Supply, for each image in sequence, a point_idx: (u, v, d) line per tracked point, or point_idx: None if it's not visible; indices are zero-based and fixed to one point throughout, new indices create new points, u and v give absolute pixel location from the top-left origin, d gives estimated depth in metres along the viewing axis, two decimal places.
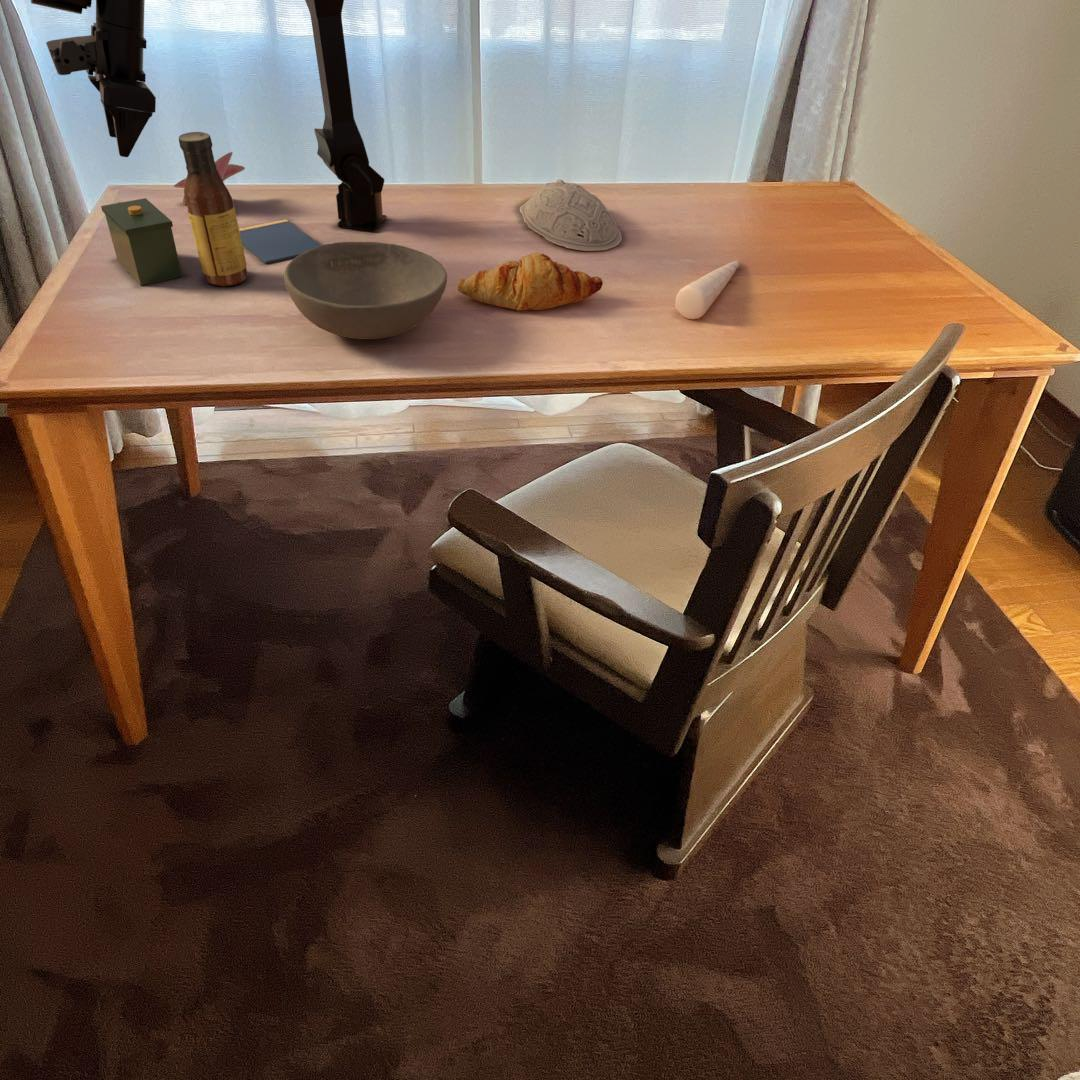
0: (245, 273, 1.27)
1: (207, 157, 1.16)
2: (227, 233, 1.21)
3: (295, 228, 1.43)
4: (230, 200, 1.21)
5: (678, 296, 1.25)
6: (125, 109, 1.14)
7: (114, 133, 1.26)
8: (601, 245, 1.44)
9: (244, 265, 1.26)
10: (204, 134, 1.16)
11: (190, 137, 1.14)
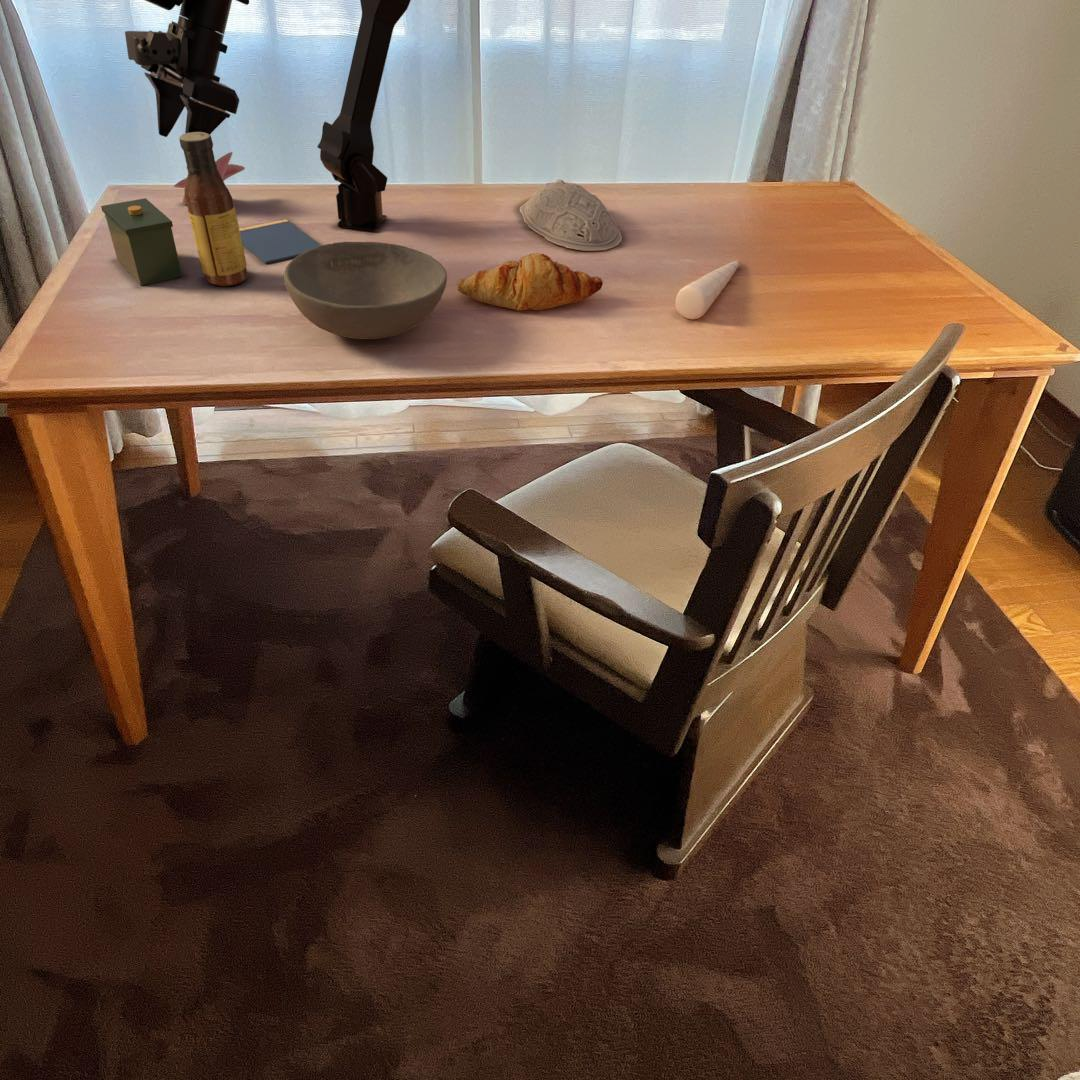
0: (245, 273, 1.27)
1: (208, 157, 1.16)
2: (227, 233, 1.21)
3: (295, 228, 1.43)
4: (230, 200, 1.21)
5: (678, 296, 1.25)
6: (207, 107, 1.14)
7: (164, 132, 1.24)
8: (601, 245, 1.44)
9: (244, 265, 1.26)
10: (205, 134, 1.16)
11: (191, 137, 1.14)
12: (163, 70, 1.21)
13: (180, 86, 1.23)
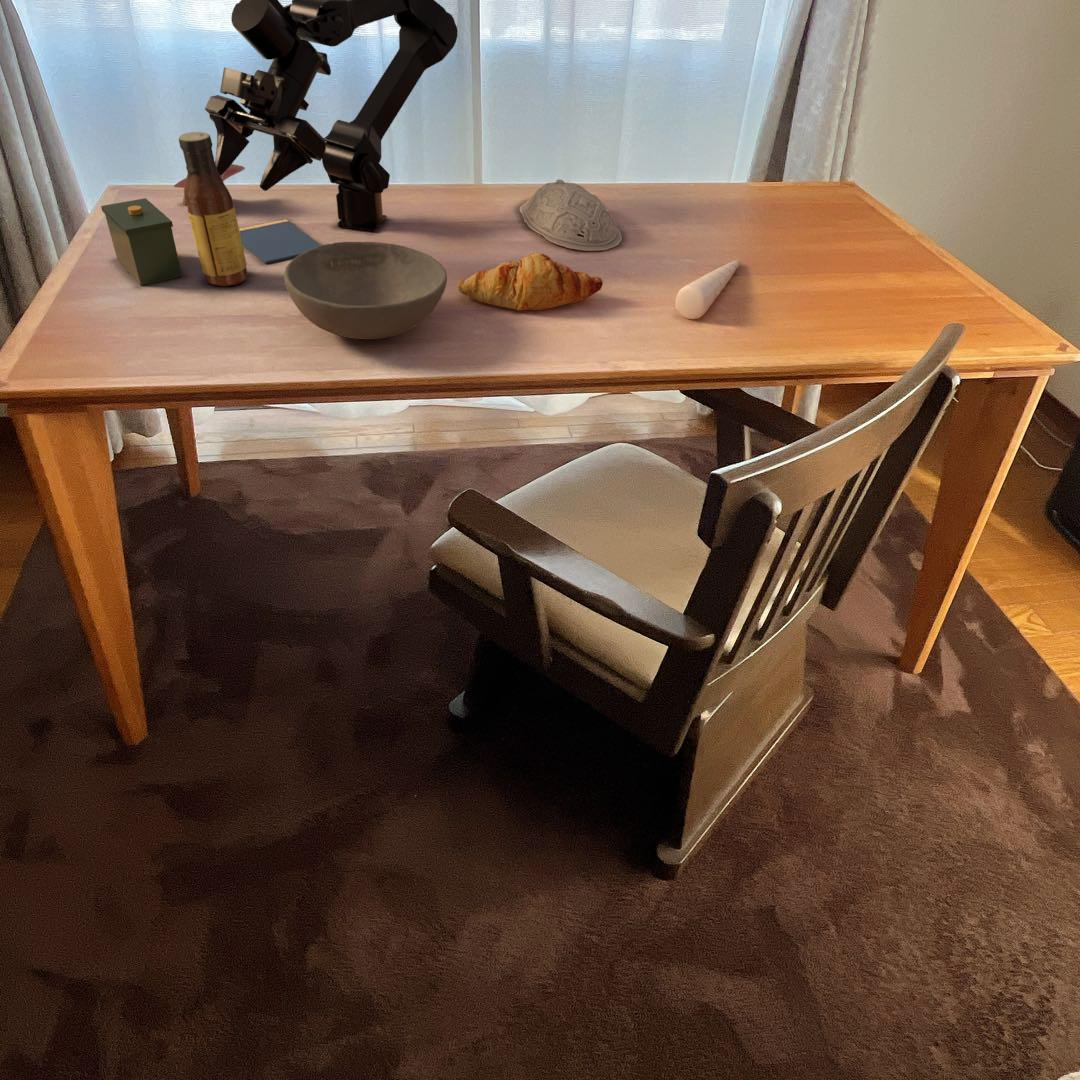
0: (245, 273, 1.27)
1: (207, 157, 1.16)
2: (227, 233, 1.21)
3: (295, 228, 1.43)
4: (230, 200, 1.21)
5: (678, 296, 1.25)
6: (299, 148, 1.20)
7: (220, 170, 1.25)
8: (601, 245, 1.44)
9: (244, 265, 1.26)
10: (204, 134, 1.16)
11: (190, 137, 1.14)
12: (231, 114, 1.24)
13: (240, 133, 1.26)
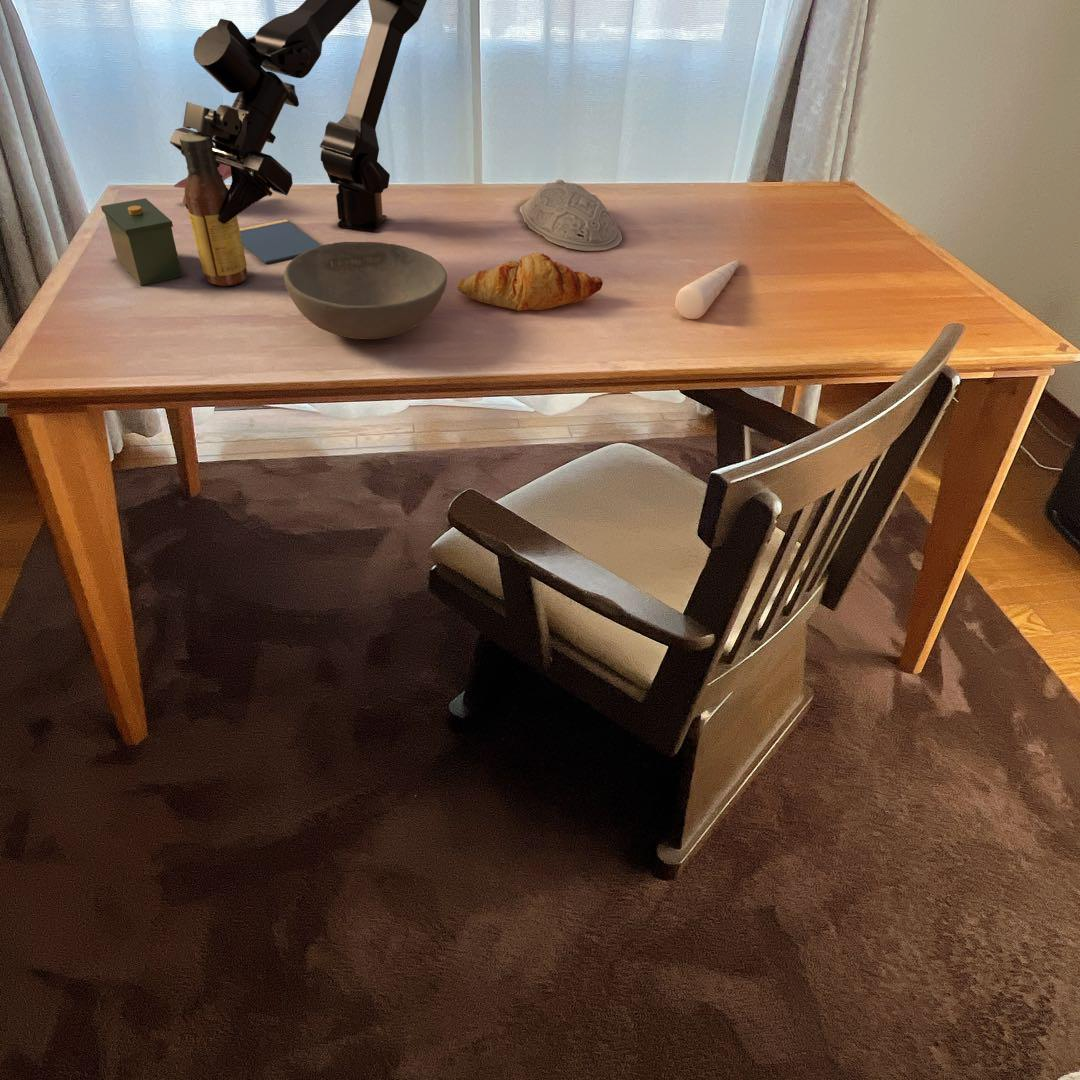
0: (245, 273, 1.27)
1: (208, 158, 1.16)
2: (227, 233, 1.21)
3: (295, 228, 1.43)
4: None
5: (678, 296, 1.25)
6: (258, 181, 1.18)
7: None
8: (601, 245, 1.44)
9: (244, 265, 1.26)
10: (205, 134, 1.15)
11: (191, 137, 1.14)
12: None
13: None
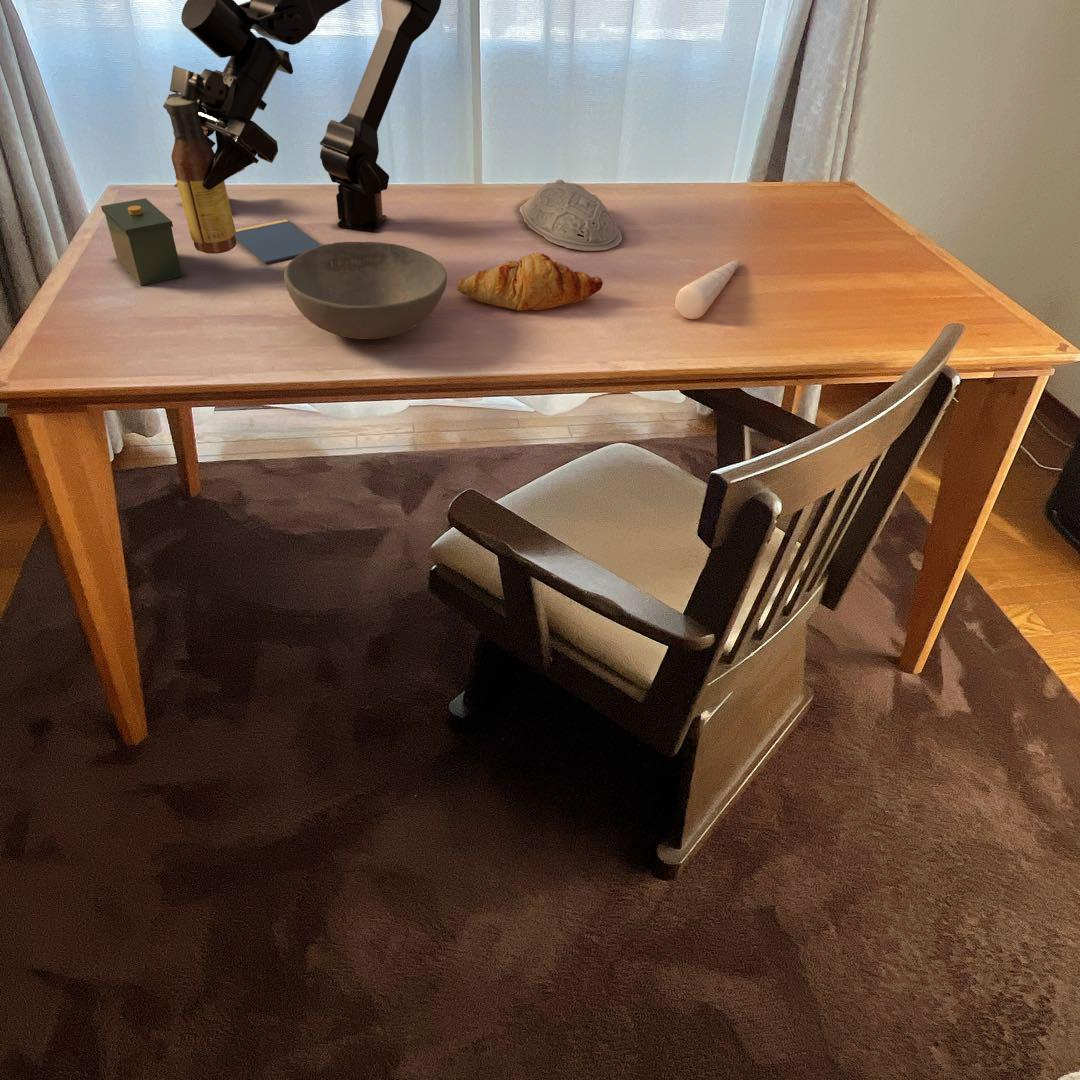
0: (233, 241, 1.26)
1: (193, 122, 1.15)
2: (213, 200, 1.21)
3: (295, 228, 1.43)
4: None
5: (678, 296, 1.25)
6: (242, 147, 1.17)
7: None
8: (601, 245, 1.44)
9: (232, 233, 1.26)
10: (191, 99, 1.15)
11: (176, 101, 1.14)
12: None
13: (205, 135, 1.23)
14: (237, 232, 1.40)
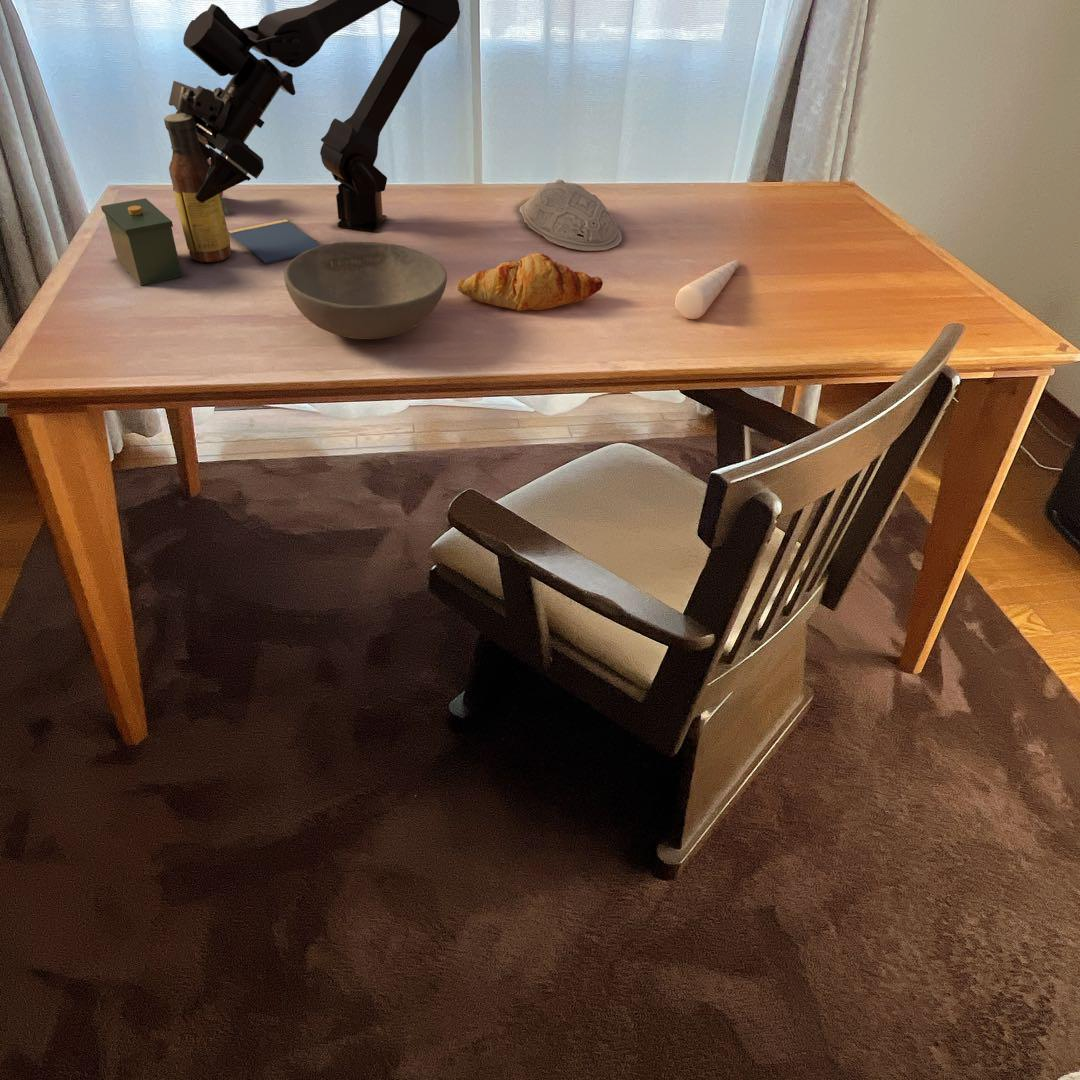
0: (225, 252, 1.32)
1: (188, 138, 1.21)
2: (204, 212, 1.27)
3: (295, 228, 1.43)
4: None
5: (678, 296, 1.25)
6: (232, 164, 1.21)
7: None
8: (601, 245, 1.44)
9: (224, 245, 1.31)
10: (189, 116, 1.21)
11: (174, 117, 1.20)
12: None
13: (205, 144, 1.30)
14: (237, 232, 1.40)
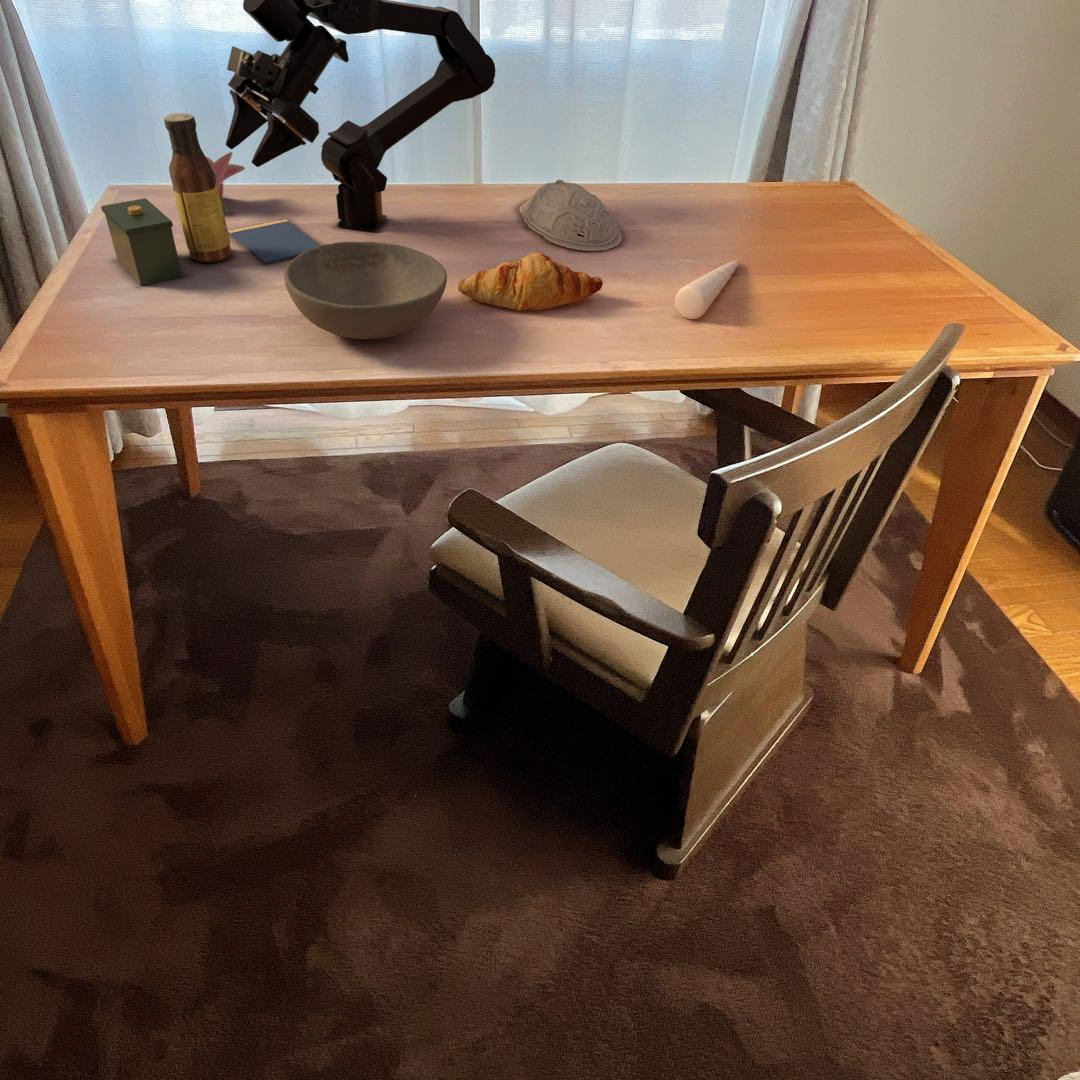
0: (225, 252, 1.32)
1: (188, 138, 1.21)
2: (204, 212, 1.27)
3: (295, 228, 1.43)
4: (211, 181, 1.26)
5: (678, 296, 1.25)
6: (289, 128, 1.23)
7: (231, 144, 1.31)
8: (601, 245, 1.44)
9: (224, 245, 1.31)
10: (189, 116, 1.21)
11: (174, 117, 1.20)
12: (249, 92, 1.30)
13: (258, 111, 1.32)
14: (237, 232, 1.40)
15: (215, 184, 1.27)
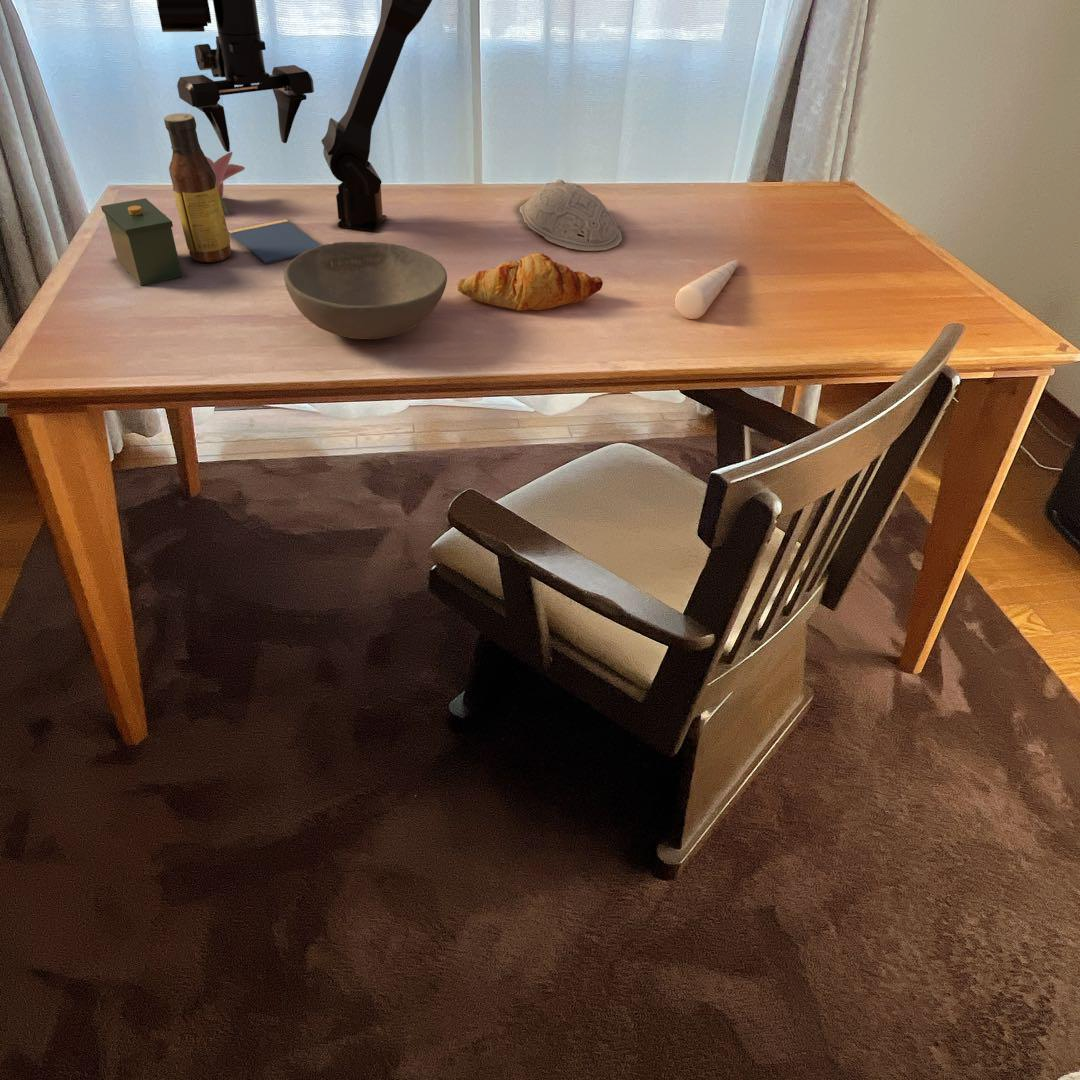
0: (225, 252, 1.32)
1: (188, 138, 1.21)
2: (204, 212, 1.27)
3: (295, 228, 1.43)
4: (211, 181, 1.26)
5: (678, 296, 1.25)
6: None
7: (282, 139, 1.36)
8: (601, 245, 1.44)
9: (224, 245, 1.31)
10: (189, 116, 1.21)
11: (174, 117, 1.20)
12: None
13: (286, 94, 1.31)
14: (237, 232, 1.40)
15: (215, 184, 1.27)
